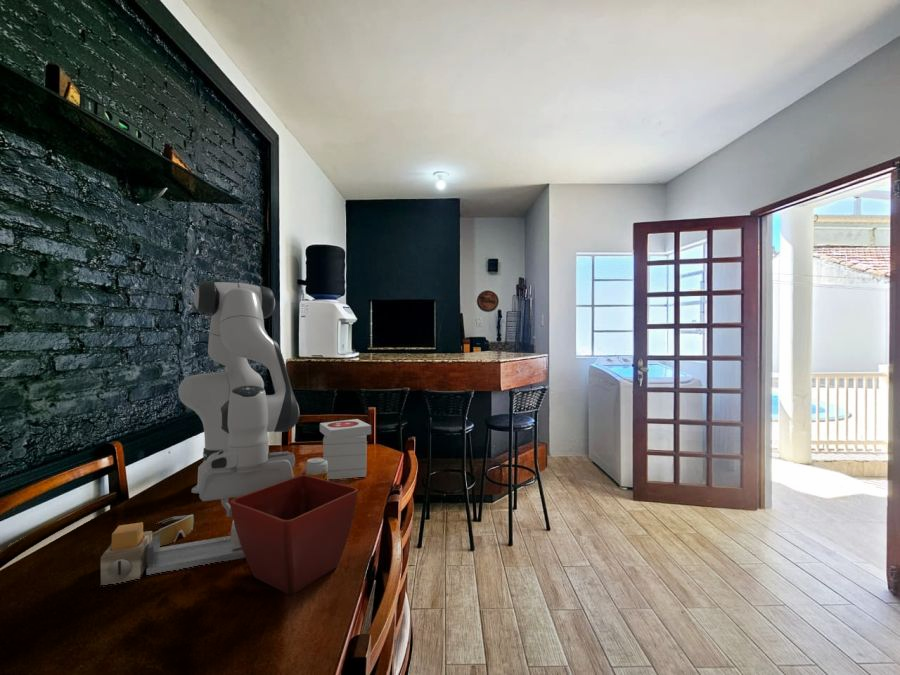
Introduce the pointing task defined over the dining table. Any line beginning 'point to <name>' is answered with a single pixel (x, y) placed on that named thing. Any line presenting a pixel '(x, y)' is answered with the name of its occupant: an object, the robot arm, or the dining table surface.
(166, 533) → the sunglasses
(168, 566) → the rail
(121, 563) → the box
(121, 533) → the orange cube
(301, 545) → the plant pot
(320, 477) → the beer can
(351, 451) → the pizza boxes
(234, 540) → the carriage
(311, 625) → the dining table surface
